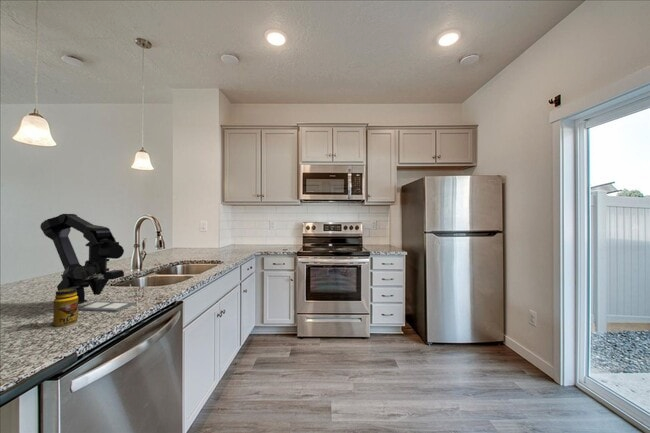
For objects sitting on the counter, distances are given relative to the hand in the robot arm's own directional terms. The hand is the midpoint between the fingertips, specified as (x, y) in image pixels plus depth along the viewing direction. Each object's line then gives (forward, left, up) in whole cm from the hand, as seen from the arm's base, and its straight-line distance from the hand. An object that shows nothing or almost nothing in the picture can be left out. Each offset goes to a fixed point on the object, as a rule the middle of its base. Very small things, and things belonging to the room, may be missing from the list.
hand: (97, 294), depth 107 cm
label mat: (+4, 0, -5) cm, 6 cm away
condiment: (+4, -17, -5) cm, 18 cm away
